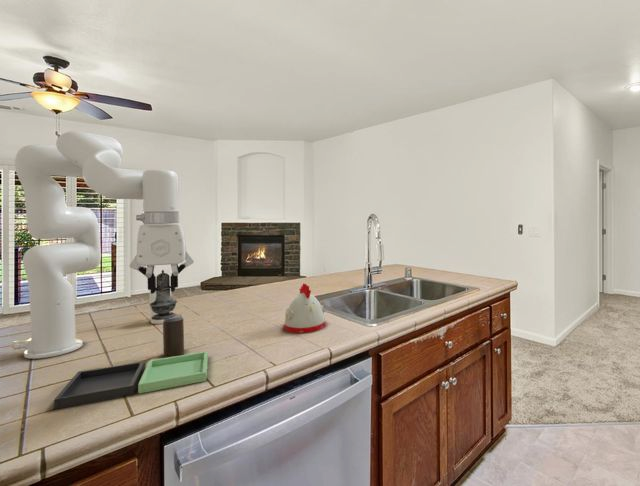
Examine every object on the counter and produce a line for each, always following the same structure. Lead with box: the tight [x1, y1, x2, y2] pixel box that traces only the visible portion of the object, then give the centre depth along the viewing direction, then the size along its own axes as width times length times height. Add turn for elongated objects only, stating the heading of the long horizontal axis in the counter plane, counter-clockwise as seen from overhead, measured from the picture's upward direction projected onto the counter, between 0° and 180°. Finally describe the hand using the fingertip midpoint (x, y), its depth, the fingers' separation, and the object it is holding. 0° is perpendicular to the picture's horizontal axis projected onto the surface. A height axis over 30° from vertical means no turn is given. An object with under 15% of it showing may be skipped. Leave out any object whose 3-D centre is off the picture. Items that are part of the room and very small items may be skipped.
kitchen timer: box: [284, 283, 326, 334], centre depth 129 cm, size 14×14×15 cm
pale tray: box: [137, 350, 209, 394], centre depth 92 cm, size 14×15×2 cm
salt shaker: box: [149, 269, 178, 320], centre depth 92 cm, size 6×6×12 cm
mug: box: [148, 288, 172, 325], centre depth 136 cm, size 10×7×12 cm, turn 38°
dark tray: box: [53, 360, 146, 410], centre depth 86 cm, size 14×15×2 cm
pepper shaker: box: [162, 313, 185, 358], centre depth 105 cm, size 5×5×11 cm
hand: (163, 290), depth 92 cm, fingers closed on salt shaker, 3 cm apart
